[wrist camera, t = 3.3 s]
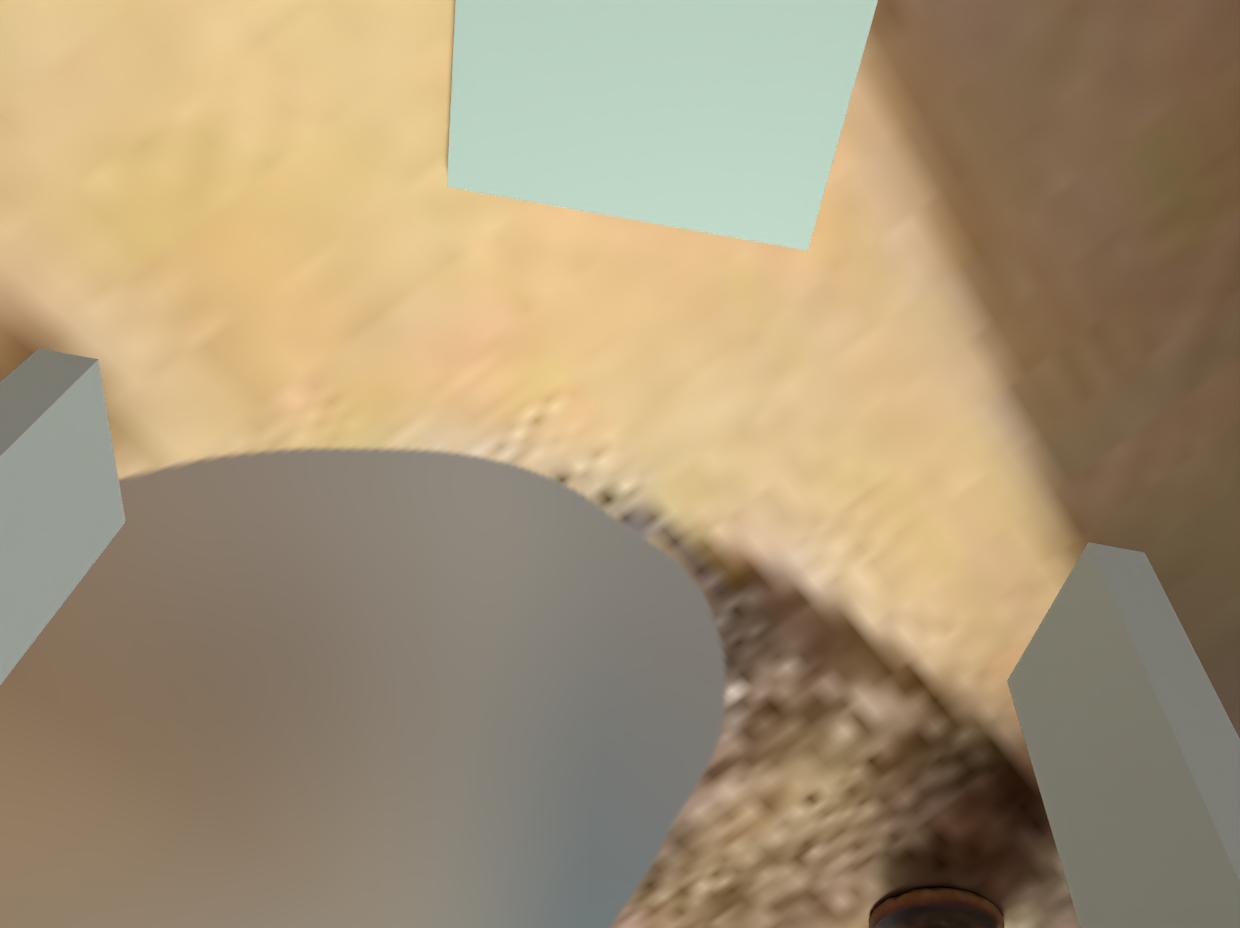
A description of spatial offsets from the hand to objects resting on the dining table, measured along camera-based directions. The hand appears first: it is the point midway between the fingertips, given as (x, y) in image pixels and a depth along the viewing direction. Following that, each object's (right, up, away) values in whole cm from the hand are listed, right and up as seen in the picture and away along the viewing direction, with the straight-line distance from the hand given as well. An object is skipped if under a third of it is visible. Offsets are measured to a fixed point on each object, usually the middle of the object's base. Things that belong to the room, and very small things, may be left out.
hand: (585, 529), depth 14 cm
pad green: (+2, +16, +21) cm, 27 cm away
